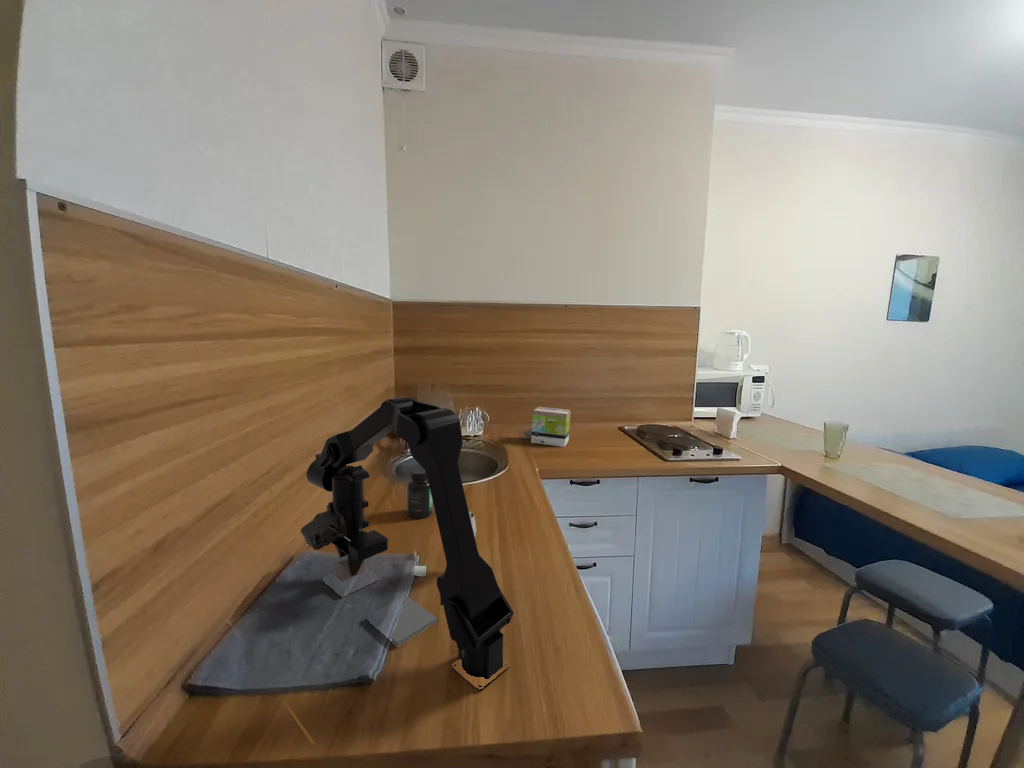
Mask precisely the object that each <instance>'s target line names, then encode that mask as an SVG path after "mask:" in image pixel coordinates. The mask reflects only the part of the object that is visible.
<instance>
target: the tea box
mask: <svg viewBox="0 0 1024 768" xmlns="http://www.w3.org/2000/svg"><path fill="white" fill-rule="evenodd" d="M531 417H532V418H531V419H532V420H531V421H532V422H531V434H530V435H531V437H530V438H531V442H530V443H531V444H540V445H548V446H554V447H560V448H565V447H566V445H567V444H568V443H569V439H570V424H571V422H570V421H571V409H564V408H556V407H544V406H537V407H536V408H534V410H532V416H531Z"/></svg>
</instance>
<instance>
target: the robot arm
mask: <svg viewBox="0 0 1024 768" xmlns="http://www.w3.org/2000/svg"><path fill="white" fill-rule="evenodd" d="M391 432H393V434H394V435H395V436H396V437H397V438H399V439H401V440H403V441H404V442H406V443H407V446H408V448H409V452H410V454H411V457H412V458H413V459H414V460H415V461H416V462H417V463H418V464H419V466H421V468H423V469H424V470H425V471H426V474H427V478H428V483H429V487H430V491H431V496H432V500H433V510H434V512H435V516H436V517H435V518H436V521H437V525H438V531H439V535H440V539H441V543H442V548H443V552H444V556H445V557H444V558H445V560H446V566H445V570H444V573H442V574H441V575H439V576H437V578H436V586H437V590H438V592H439V596H440V597H439V598H440V602H439V603H440V604H439V605H440V606H443V612H444V615H445V620H446V624H447V628H448V632H449V638H450V639H451V640H452V641H454V642H455V643H456V646H457V647H456V648H457V650H458V651H457V653H458V654H457V655H458V659H459V658H460V659H461V660H462V667H463V669H464V670H465V671H466V673H468V674H469V675H471V676H475V677H484V678H485V679H489V678H490V677H491V676H492V675H493V674H495V673H496V672H497V671H498V670H499V669H501V668H502V667H503V658H504V634H503V633H502V632H501V629H503V628H504V627H505V626H507V625H508V624H510V623H511V621H512V620H513V617H514V614H515V613H514V610H513V609H512V608H511V605H510V604H509V602H508V600H507V598H506V597H505V595H504V594H503V592H502V590H501V588H500V587H499V585H498V584H499V583H498V582H497V579H496V576H495V573H494V570H493V568H492V566H490V565H489V563H488V562H487V561H486V560H485V559H484V558H483V557H482V556H481V555H480V553H479V550H478V546H477V542H476V536H474V532H473V528H472V523H471V519H470V515H469V512H470V511H469V510H470V509H469V506H468V502H467V499H466V493H465V489H464V486H463V481H462V477H461V473H460V472H461V471H460V468H459V459H460V457H461V456H460V455H461V451H462V447H463V444H464V443H463V435H462V433H463V432H462V425H461V420H460V417H459V416H458V414H457V412H456V413H455V412H454V411H453V410H452V409H450V408H447V407H441V406H439V405H435V404H431V403H426V402H423V401H418V400H416V399H415V398H413V397H409V396H401V397H399V396H398V397H393V398H387V399H386V400H384V401H382V403H381V404H380V406H379V407H378V408H377V409H375V410H374V411H373V412H372V413H371V414H369V415H368V416H367V417H366V418H364V419H363V420H361V421H360V422H359V423H358V424H356V425H355V426H354V427H353V428H351V429H349V430H346V431H343V432H340V433H337V434H335V435H332V436H328V438H327V439H326V441H325V442H324V446H323V449H322V450H321V452H320V453H317V454H315V459H314V460H313V461H312V462H311V463H310V464H309V466H308V468H307V471H306V478H307V481H308V482H309V483H310V484H311V485H314V486H316V487H318V488H320V489H322V490H323V491H327V492H331V494H332V496H331V497H332V500H331V502H328V504H327V505H326V510H325V511H322V512H319V513H317V514H316V515H315V517H314V518H313V519H312V520H311V521H310V522H308V523H307V524H305V525H303V526H302V527H301V529H300V532H301V534H302V537H303V538H304V540H305V542H306V543H307V545H308V546H309V547H311V548H312V549H314V551H318V550H321V549H323V548H324V547H327V546H329V545H331V544H332V545H334V547H335V549H336V552H337V555H338V558H341V557H343V556H346V555H347V556H348V562H349V568H350V573H351V576H354V575H356V574H357V573H358V571H359V569H360V567H361V565H362V563H363V561H364V560H365V561H366V560H367V559H370V558H371V557H374V556H377V555H378V554H381V553H383V552H386V551H388V550H389V538H388V537H386V536H385V535H383V534H382V533H380V532H378V531H377V530H375V529H373V530H372V529H371V530H370V531H369V530H364V529H365V528H368V527H370V523H369V520H367V519H365V508H369V501H368V500H366V499H365V493H364V492H365V491H364V490H365V489H364V488H365V487H364V480H365V479H369V478H370V474H369V472H368V471H367V470H366V469H365V468H364V467H363V465H360V464H359V465H357V466H355V465H352V464H354V463H358V462H362V461H365V460H366V459H367V458H368V457H369V456H370V455H371V453H372V452H373V451H374V445H375V444H376V443H377V442H379V441H381V440H382V439H383V438H384V437H386V436H387V435H389V434H390V433H391ZM350 464H351V465H350Z"/></svg>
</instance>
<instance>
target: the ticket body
mask: <svg viewBox="0 0 1024 768" xmlns="http://www.w3.org/2000/svg"><path fill="white" fill-rule="evenodd" d="M436 622H437V623H438V618H437V617H436V616H435V615H434V614H432V613H431V612H429V611H428V610H426V609H425V608H424V607H423V606H421V605H420V604H418V603H417V602H416V601H415V600H413V599H412V598H410V597H409V596H408V595H406V598H405V600H404V605H403V608H402V611H401V613H400V615H399V619H398V621H397V625H396V627H395V629H394V631H393V633H392V635H391V639H392V642H393V643H394V644H395V645H396V646H399V645H400V644H402V643H404V642H406V641H407V640H409V639H410V638H412V637H414V636H415V635H417V634H419V633H420V632H421V631H423V630H424V629H426V628H427V627H429V626H430V625H432V624H434V623H436Z"/></svg>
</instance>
